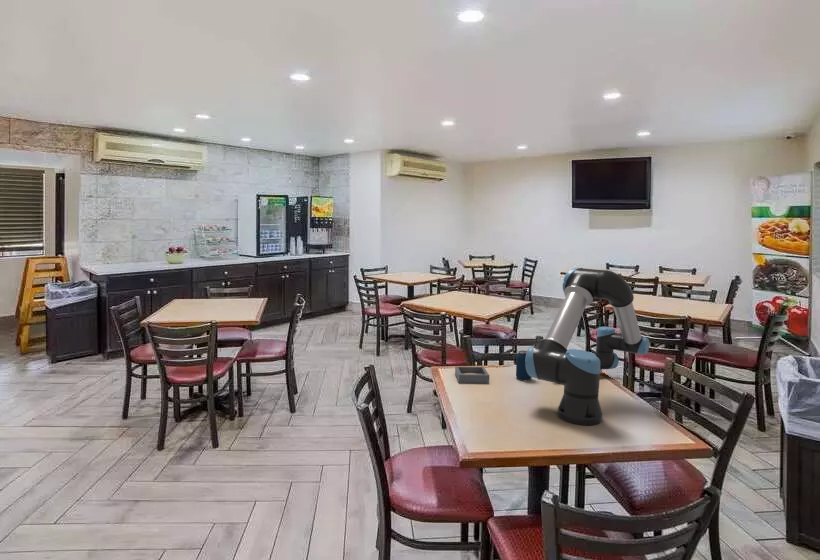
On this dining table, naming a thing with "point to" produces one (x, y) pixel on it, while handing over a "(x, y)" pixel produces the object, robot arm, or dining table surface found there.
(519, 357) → the soda can
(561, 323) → the robot arm
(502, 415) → the dining table surface
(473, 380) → the drink tray
